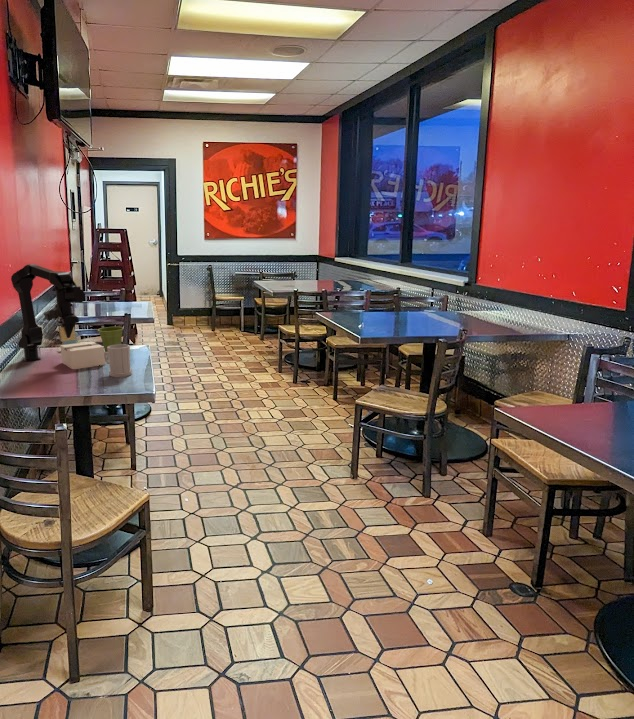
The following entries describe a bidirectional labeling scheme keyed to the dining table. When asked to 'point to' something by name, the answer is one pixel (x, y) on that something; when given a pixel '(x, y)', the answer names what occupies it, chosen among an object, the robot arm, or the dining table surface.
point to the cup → (118, 360)
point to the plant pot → (110, 336)
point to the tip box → (82, 355)
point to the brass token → (63, 334)
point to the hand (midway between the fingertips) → (67, 337)
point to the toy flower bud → (71, 340)
